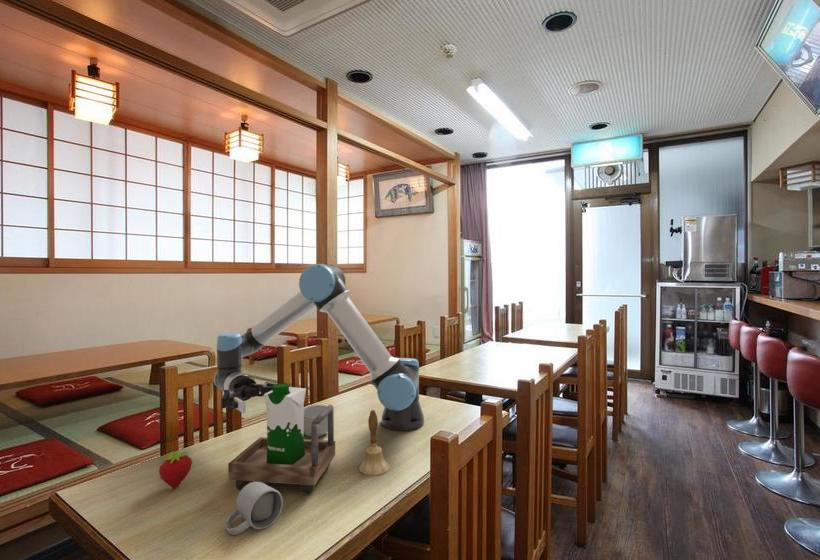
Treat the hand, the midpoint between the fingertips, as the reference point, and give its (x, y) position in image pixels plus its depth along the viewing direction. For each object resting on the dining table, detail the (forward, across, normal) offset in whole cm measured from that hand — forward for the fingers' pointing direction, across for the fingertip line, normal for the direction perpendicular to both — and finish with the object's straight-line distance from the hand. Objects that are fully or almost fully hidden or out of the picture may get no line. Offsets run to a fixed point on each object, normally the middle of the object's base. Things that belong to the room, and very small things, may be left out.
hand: (268, 402), depth 113 cm
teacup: (-12, -20, -18) cm, 29 cm away
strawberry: (-4, +22, -18) cm, 29 cm away
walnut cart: (+10, 0, -18) cm, 20 cm away
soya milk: (+10, 0, -13) cm, 16 cm away
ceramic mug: (+23, +14, -18) cm, 32 cm away
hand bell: (+21, -20, -18) cm, 34 cm away
